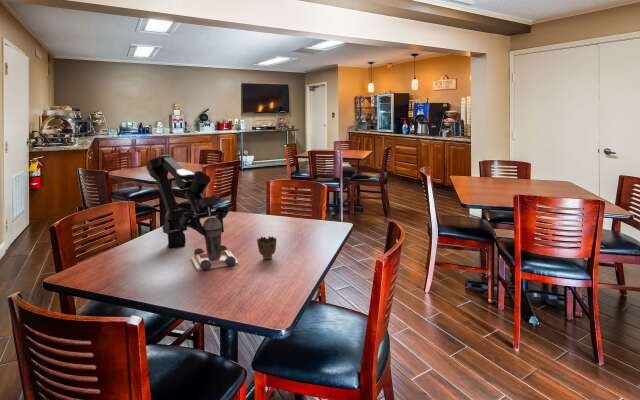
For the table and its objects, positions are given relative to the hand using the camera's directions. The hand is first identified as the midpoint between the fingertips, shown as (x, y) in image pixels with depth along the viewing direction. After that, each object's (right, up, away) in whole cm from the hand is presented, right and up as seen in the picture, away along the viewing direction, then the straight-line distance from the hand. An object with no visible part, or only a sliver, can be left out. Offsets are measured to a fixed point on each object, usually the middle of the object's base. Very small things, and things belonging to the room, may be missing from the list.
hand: (214, 233), depth 155 cm
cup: (+19, -10, +5) cm, 22 cm away
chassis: (-1, -11, +3) cm, 11 cm away
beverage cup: (-1, -9, +3) cm, 10 cm away
